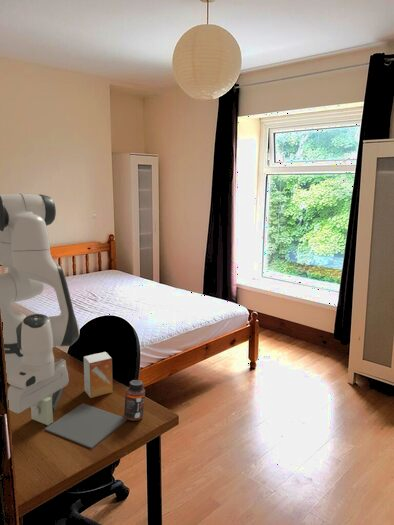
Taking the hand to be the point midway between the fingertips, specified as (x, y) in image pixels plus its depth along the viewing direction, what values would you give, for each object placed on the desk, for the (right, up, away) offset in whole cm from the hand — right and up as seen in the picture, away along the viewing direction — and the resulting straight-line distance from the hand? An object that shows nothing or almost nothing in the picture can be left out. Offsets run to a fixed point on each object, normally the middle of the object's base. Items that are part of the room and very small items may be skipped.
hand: (41, 411), depth 126 cm
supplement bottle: (+27, -3, +3) cm, 28 cm away
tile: (0, -3, +1) cm, 3 cm away
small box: (+13, 0, +19) cm, 23 cm away
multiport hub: (-1, -2, +12) cm, 12 cm away
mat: (+14, -4, -1) cm, 15 cm away
